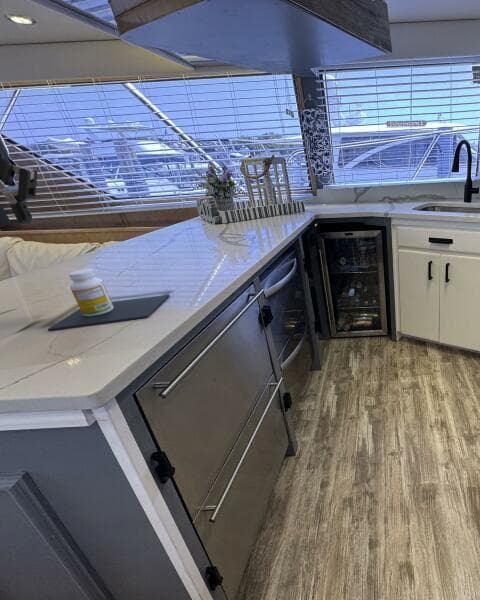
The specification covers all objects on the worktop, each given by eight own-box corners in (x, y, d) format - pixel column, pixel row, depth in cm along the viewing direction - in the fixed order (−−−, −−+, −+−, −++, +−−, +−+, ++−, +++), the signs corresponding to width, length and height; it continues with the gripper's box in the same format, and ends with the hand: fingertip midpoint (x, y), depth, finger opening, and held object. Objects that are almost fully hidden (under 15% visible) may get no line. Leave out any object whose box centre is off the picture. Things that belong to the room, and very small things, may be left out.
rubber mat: (48, 331, 66) (47, 329, 66) (86, 306, 78) (85, 304, 78) (147, 317, 70) (147, 315, 70) (169, 296, 82) (169, 294, 82)
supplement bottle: (91, 309, 75) (73, 269, 71) (118, 305, 76) (102, 266, 72) (78, 318, 70) (57, 276, 66) (107, 314, 72) (88, 273, 68)
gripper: (29, 126, 62) (69, 218, 68) (-65, 128, 58) (-13, 224, 65) (-4, 122, 55) (44, 224, 62) (-113, 123, 52) (-49, 230, 59)
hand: (14, 223), depth 63 cm, fingers open, 3 cm apart
